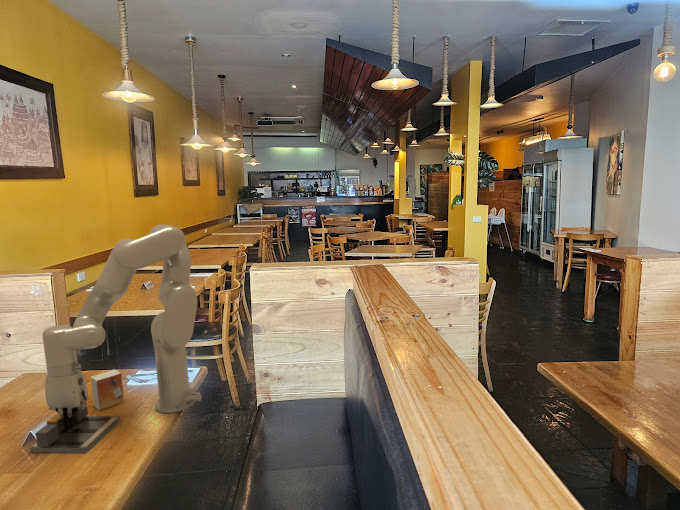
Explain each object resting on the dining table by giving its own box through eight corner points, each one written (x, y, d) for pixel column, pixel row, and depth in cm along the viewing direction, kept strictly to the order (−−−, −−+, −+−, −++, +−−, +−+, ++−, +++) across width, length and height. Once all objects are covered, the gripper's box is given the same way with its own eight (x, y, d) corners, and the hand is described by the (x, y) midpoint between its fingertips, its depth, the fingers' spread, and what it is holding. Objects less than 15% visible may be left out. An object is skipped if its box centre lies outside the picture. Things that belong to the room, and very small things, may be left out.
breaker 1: (59, 437, 124) (57, 424, 124) (47, 446, 120) (46, 433, 119) (49, 437, 125) (47, 424, 124) (37, 446, 120) (35, 433, 120)
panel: (120, 420, 137) (119, 415, 136) (85, 453, 120) (85, 447, 120) (71, 420, 138) (70, 415, 137) (30, 452, 121) (29, 447, 121)
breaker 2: (87, 414, 137) (86, 402, 137) (78, 421, 133) (77, 409, 132) (78, 414, 137) (77, 402, 137) (69, 421, 133) (67, 409, 132)
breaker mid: (68, 425, 131) (66, 412, 130) (58, 433, 126) (56, 420, 126) (58, 425, 131) (57, 412, 130) (48, 433, 127) (46, 420, 126)
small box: (99, 411, 143) (95, 381, 141) (93, 406, 147) (89, 376, 145) (124, 402, 149) (121, 373, 147) (118, 397, 152) (115, 368, 151)
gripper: (95, 363, 129) (102, 421, 132) (47, 363, 130) (55, 421, 132) (79, 373, 121) (87, 435, 124) (28, 374, 122) (36, 434, 125)
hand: (70, 427), depth 128 cm, fingers closed
